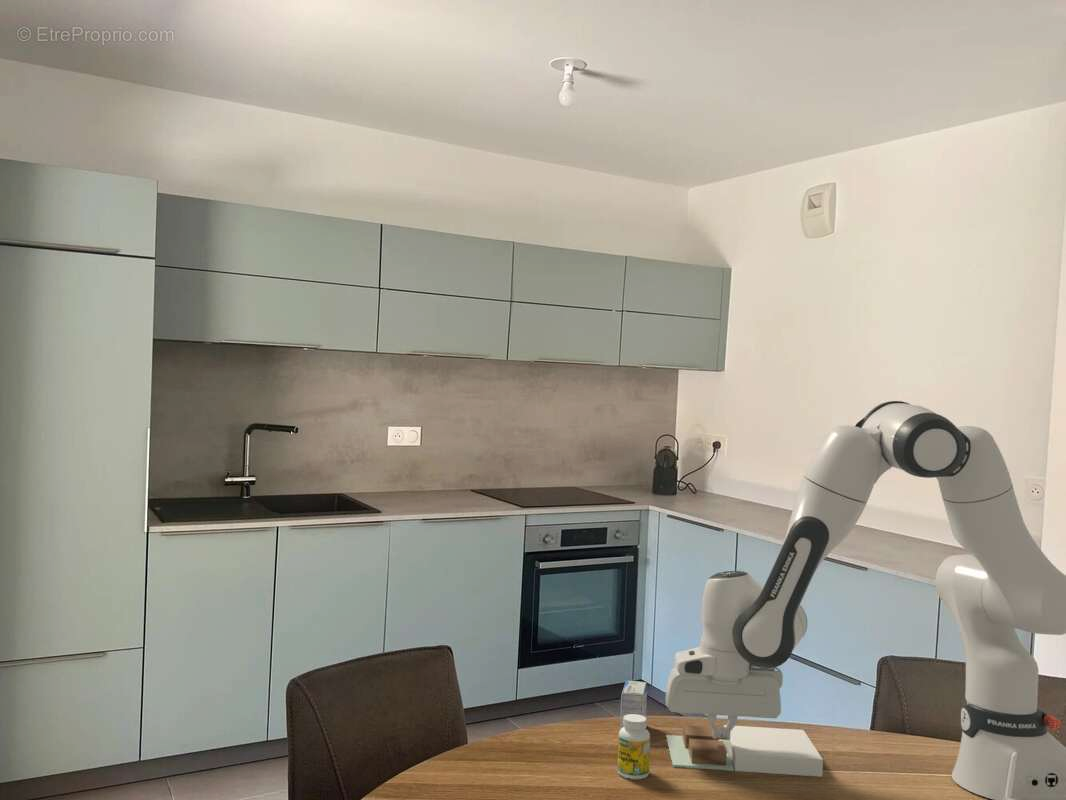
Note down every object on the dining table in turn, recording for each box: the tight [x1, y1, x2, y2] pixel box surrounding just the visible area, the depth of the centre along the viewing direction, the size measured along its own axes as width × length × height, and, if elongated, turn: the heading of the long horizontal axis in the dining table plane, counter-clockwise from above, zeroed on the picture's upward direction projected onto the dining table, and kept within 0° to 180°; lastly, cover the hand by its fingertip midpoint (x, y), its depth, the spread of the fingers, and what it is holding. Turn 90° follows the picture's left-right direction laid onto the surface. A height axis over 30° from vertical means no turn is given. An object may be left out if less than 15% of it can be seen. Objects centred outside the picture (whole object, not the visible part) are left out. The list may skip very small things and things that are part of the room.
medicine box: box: [619, 680, 648, 731], centre depth 172 cm, size 8×4×9 cm, turn 168°
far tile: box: [682, 724, 719, 749], centre depth 166 cm, size 6×5×2 cm
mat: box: [665, 734, 735, 772], centre depth 163 cm, size 11×14×1 cm
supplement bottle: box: [617, 714, 651, 780], centre depth 152 cm, size 5×5×10 cm
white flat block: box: [723, 724, 824, 778], centre depth 162 cm, size 15×14×3 cm
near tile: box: [689, 739, 727, 766], centre depth 159 cm, size 6×5×2 cm
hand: (721, 738), depth 159 cm, fingers closed
